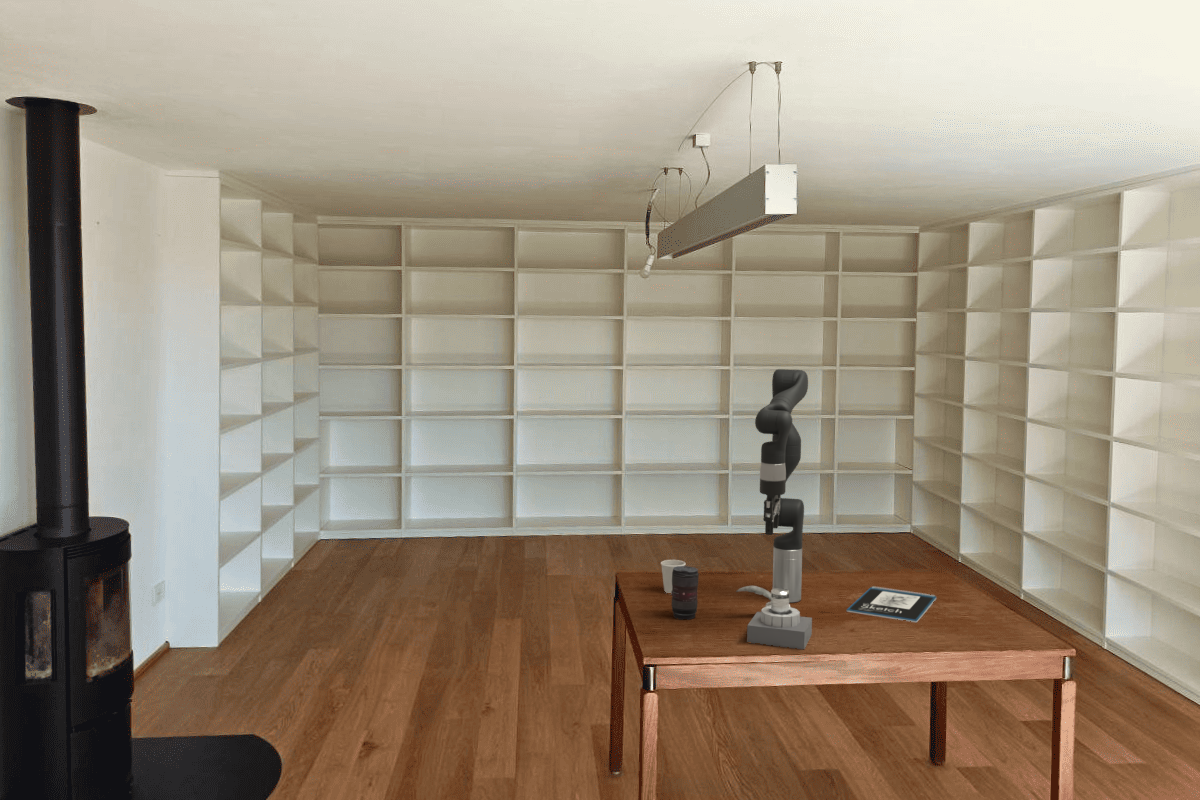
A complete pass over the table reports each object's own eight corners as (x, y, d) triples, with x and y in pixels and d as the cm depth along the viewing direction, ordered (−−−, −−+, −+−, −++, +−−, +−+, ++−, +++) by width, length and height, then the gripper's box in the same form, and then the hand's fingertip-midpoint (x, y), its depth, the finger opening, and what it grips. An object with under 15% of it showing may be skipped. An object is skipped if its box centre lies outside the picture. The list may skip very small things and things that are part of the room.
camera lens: (696, 621, 294) (697, 572, 293) (669, 619, 296) (670, 571, 295) (699, 613, 302) (699, 566, 301) (673, 611, 304) (673, 564, 302)
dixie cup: (662, 587, 331) (662, 559, 330) (686, 589, 329) (687, 560, 329) (658, 594, 323) (659, 564, 322) (683, 596, 321) (684, 566, 320)
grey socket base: (756, 628, 288) (757, 601, 288) (811, 634, 283) (812, 607, 282) (747, 642, 275) (747, 614, 274) (804, 649, 270) (804, 621, 269)
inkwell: (797, 621, 295) (798, 588, 295) (740, 623, 293) (740, 590, 292) (787, 612, 304) (787, 580, 304) (731, 614, 302) (732, 582, 301)
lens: (772, 618, 281) (772, 587, 281) (789, 619, 280) (790, 589, 279) (769, 623, 277) (769, 592, 276) (787, 624, 275) (787, 593, 274)
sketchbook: (846, 613, 306) (846, 607, 306) (871, 591, 332) (871, 585, 331) (916, 624, 295) (916, 617, 295) (936, 600, 321) (937, 593, 321)
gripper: (781, 482, 279) (780, 538, 281) (789, 473, 292) (788, 526, 294) (755, 481, 282) (754, 535, 283) (764, 472, 295) (763, 524, 297)
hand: (771, 531), depth 289 cm, fingers open, 8 cm apart
